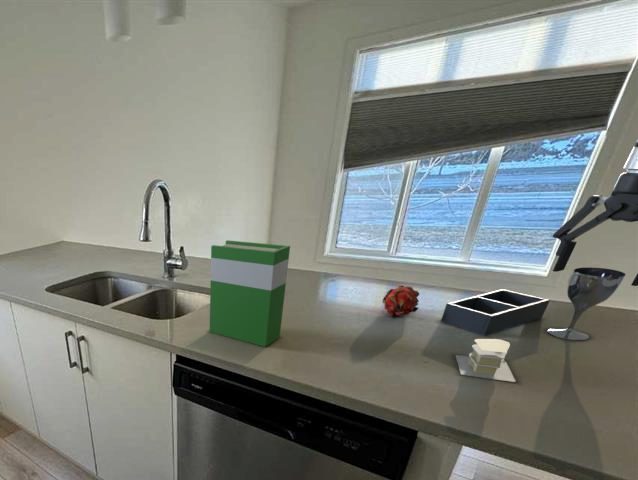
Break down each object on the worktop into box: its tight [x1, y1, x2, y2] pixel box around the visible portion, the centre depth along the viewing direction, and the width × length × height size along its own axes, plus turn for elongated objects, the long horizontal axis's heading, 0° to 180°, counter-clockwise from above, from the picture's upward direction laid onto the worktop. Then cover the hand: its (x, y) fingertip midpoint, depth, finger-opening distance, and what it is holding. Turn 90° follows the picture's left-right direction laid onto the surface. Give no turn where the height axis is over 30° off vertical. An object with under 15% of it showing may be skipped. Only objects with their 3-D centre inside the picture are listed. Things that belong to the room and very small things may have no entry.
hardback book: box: [209, 239, 291, 348], centre depth 107 cm, size 18×7×24 cm, turn 44°
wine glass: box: [547, 266, 626, 341], centre depth 94 cm, size 8×8×15 cm
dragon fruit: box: [382, 285, 420, 317], centre depth 115 cm, size 8×8×12 cm
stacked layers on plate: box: [455, 338, 516, 383], centre depth 86 cm, size 10×9×6 cm
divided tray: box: [440, 288, 551, 336], centre depth 106 cm, size 11×21×5 cm, turn 110°
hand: (595, 277), depth 90 cm, fingers open, 13 cm apart
